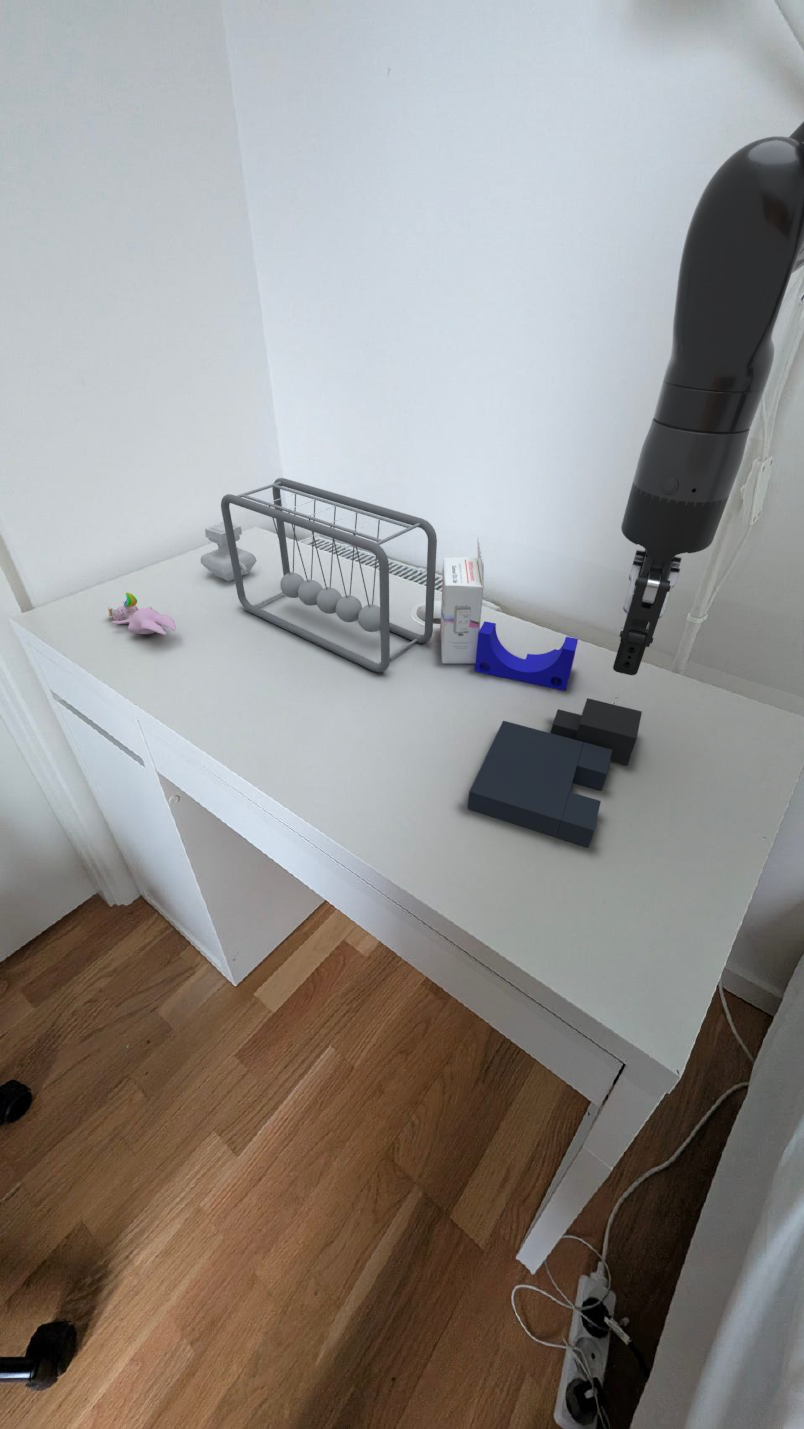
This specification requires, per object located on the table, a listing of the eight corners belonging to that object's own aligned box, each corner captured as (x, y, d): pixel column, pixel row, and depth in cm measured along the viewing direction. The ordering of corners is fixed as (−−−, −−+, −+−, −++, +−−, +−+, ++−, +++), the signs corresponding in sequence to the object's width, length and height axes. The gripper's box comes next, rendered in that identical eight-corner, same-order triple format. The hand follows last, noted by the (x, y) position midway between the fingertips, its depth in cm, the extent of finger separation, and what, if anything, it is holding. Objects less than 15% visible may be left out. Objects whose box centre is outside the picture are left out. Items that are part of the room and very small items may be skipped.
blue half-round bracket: (570, 672, 77) (579, 633, 73) (565, 690, 74) (574, 650, 70) (483, 654, 80) (487, 615, 76) (474, 671, 77) (478, 632, 73)
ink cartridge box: (438, 631, 85) (443, 534, 76) (471, 632, 85) (481, 534, 76) (440, 664, 78) (446, 562, 69) (477, 665, 78) (487, 562, 69)
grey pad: (607, 766, 63) (612, 749, 61) (588, 847, 54) (594, 830, 53) (500, 737, 67) (503, 720, 65) (467, 808, 58) (469, 791, 56)
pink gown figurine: (103, 631, 87) (154, 652, 78) (87, 594, 84) (137, 611, 75) (141, 615, 91) (193, 634, 82) (127, 579, 87) (180, 594, 78)
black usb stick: (632, 738, 67) (642, 711, 64) (627, 765, 63) (637, 738, 60) (556, 718, 69) (562, 691, 67) (547, 744, 66) (553, 716, 63)
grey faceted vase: (199, 574, 99) (187, 526, 94) (230, 562, 103) (221, 515, 98) (232, 589, 95) (223, 540, 90) (263, 576, 99) (256, 527, 94)
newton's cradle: (433, 645, 82) (439, 522, 71) (386, 679, 75) (384, 548, 64) (288, 584, 96) (274, 474, 85) (238, 608, 90) (216, 492, 79)
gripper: (732, 519, 41) (663, 698, 51) (730, 465, 51) (673, 624, 62) (623, 502, 43) (578, 678, 54) (642, 454, 54) (601, 610, 64)
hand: (629, 649), depth 58 cm, fingers open, 8 cm apart
